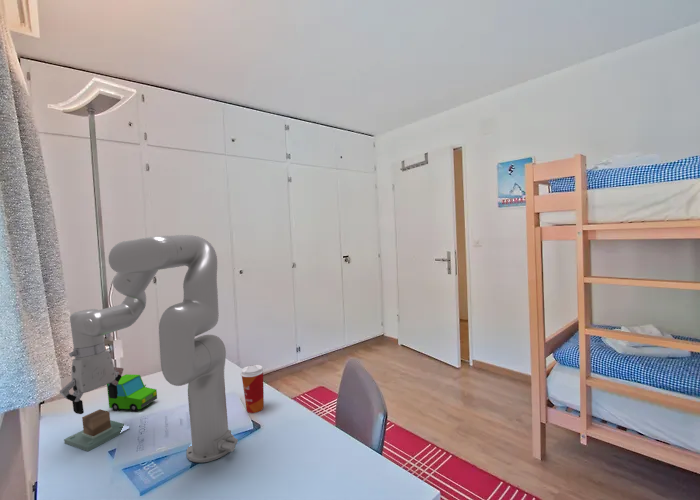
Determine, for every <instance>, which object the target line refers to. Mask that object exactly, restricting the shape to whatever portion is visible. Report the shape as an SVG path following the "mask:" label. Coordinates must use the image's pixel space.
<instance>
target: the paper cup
mask: <svg viewBox="0 0 700 500" xmlns="http://www.w3.org/2000/svg"><path fill="white" fill-rule="evenodd" d="M264 372H265V369H264V368H263V366H262V365H260V364H255V365H250V366H248V365H247V366H245V367H243V368H242V369H241V373H240V376H241V380H242V387H243V395H244V400H245V403H244V404H245V408H246V412H247V413H249V414H255V413H259V412H261V411H262V410H263V409H264V405H265V404H264V400H265V399H264V395H265V393H264Z"/></svg>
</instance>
